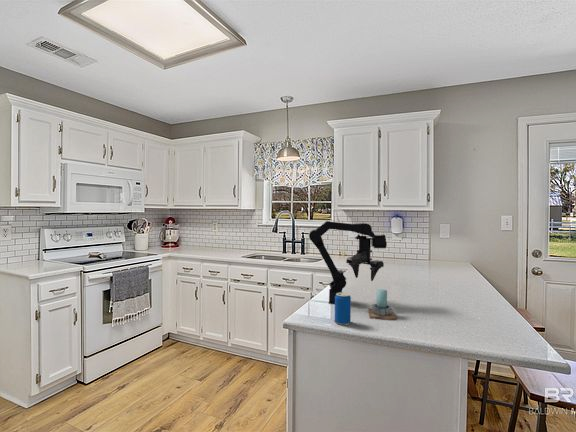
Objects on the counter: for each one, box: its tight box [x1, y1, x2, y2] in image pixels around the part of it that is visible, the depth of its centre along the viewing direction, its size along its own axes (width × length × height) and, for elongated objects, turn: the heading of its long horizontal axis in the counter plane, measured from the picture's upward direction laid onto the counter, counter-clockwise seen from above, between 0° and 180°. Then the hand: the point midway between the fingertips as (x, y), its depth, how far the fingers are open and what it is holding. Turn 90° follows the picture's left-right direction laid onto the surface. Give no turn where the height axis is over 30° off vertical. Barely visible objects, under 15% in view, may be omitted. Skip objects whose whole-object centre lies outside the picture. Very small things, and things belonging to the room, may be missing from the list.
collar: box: [371, 303, 393, 316], centre depth 145 cm, size 8×8×3 cm
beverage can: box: [334, 291, 352, 326], centre depth 135 cm, size 6×6×12 cm
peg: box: [376, 288, 388, 308], centre depth 145 cm, size 4×4×10 cm
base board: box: [367, 308, 397, 321], centre depth 145 cm, size 11×11×1 cm
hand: (364, 279), depth 163 cm, fingers open, 9 cm apart
